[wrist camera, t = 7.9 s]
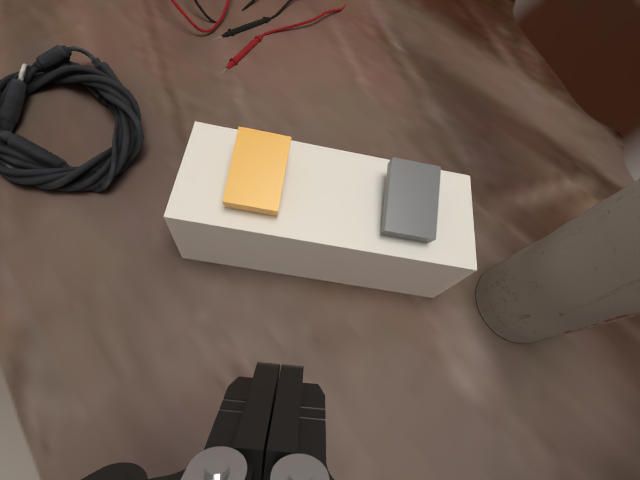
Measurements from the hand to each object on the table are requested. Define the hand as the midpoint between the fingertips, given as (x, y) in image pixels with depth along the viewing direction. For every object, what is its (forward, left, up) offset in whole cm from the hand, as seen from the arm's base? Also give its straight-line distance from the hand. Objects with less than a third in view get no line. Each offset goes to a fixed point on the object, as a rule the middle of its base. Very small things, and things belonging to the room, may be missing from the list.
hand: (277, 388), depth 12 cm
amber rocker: (-4, -16, -11) cm, 20 cm away
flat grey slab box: (-15, -10, -11) cm, 21 cm away
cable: (+12, -30, -21) cm, 38 cm away
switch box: (-9, -13, -20) cm, 26 cm away
